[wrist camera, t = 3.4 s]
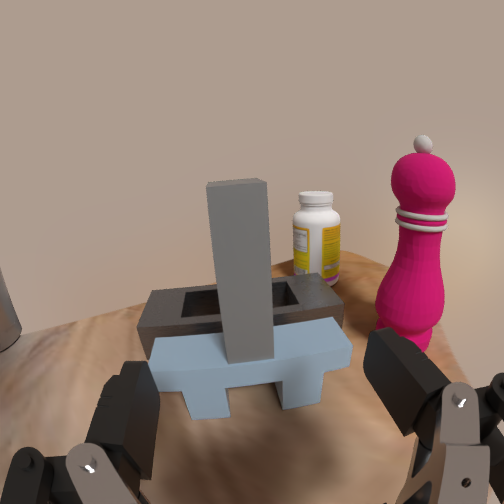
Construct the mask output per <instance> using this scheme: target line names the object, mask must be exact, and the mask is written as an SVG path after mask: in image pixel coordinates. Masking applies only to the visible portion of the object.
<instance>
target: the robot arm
mask: <svg viewBox="0 0 504 504" xmlns="http://www.w3.org/2000/svg"><path fill="white" fill-rule="evenodd" d="M21 330H22V328H21V325H20V322H19V320H18V317H17V315H16V312H15V310H14V307H13V305H12V302H11V299H10V296H9V294H8V291H7V288H6V285H5V282H4V278H3V276H2V272H1V269H0V351H2V350H4V349H6V348H7V347H9V346H10V345H11V344H13V343H14V342H15V341H16V340H17V338H18V337H19V336H20V334H21ZM363 369H364V373H365V375H366V377H367V379H368V381H369V382H370V384H371V385H372V387H373V388H374V390H375V391H376V393H377V395H378V396H379V398H380V399H381V401H382V402H383V404H384V406H385V407H386V409H387V410H388V412H389V413H390V415H391V417H392V418H393V420H394V421H395V423H396V425H397V426H398V428H399V429H400V431H401V433H402V434H403V436H404V437H405V436H407V435H409V434H411V433H413V432H415V433H416V435H417V437H416V439H415V443H414V448H413V453H412V458H411V463H410V467H409V471H408V475H407V479H406V482H405V485H404V487H403V488H402V490H401V492H400V494H399V496H398V498H397V500H396V503H395V504H486V503H487V495H488V486H489V483H490V485H491V487H492V488H493V490H494V492H495V494H496V496H497V498H498V499H499V501H500V503H501V504H504V436H503V435H502V433H501V432H500V430H499V429H498V428H497V425H498V424H499V423H500V421H501V420H503V421H504V373H499V374H497V375H495V376H494V378H493V380H492V382H491V383H490V385H489V386H486V387H482V388H477V389H473V388H472V387H471V386H470V385H468V384H466V383H462V382H454V383H451V382H450V381H449V379H448V378H447V377H446V376H445V375H444V374H443V373H442V372H441V371H440V370H439V368H438V367H437V366H436V365H435V364H434V363H433V362H432V361H431V360H430V359H428V357H427V356H426V354H425V353H424V352H422V350H421V349H420V348H419V347H418V346H417V345H416V344H415V343H414V342H413V341H411V340H409V339H407V338H405V337H403V336H402V337H400V336H399V335H398V334H397V333H396V332H395V331H394V330H393V329H392V328H391V327H386V328H382V329H378V330H374V331H371V332H370V334H369V338H368V343H367V348H366V352H365V357H364V362H363ZM100 396H101V398H99V401H98V404H97V407H96V409H95V412H94V415H93V418H92V421H91V424H90V427H89V430H88V433H87V437H86V440H85V442H84V443H82V444H79V445H77V446H75V447H73V448H72V449H71V450H70V451H69V453H68V455H66V456H55V457H44V456H43V455H42V454H41V453H40V452H39V451H38V450H37V449H35V448H32V447H24V448H21V449H20V450H18V451H17V452H16V453H15V455H14V456H13V459H12V462H11V465H10V468H9V471H8V474H7V478H6V481H5V485H4V488H3V492H2V496H1V500H0V504H151V503H150V502H149V500H148V499H147V498H146V496H145V495H144V494H143V493H142V491H141V490H140V489H139V487H140V479H144V480H151V477H152V466H153V457H154V448H155V439H156V432H157V424H158V417H159V410H160V396H159V391H158V389H157V386H156V384H155V381H154V378H153V376H152V373H151V371H150V368H149V365H148V363H147V362H146V361H125V362H124V364H123V366H122V369H121V372H120V375H113V376H112V377H111V378H110V379H109V380H108V381H107V382H106V384H105V385H104V387H103V390H102V393H101V395H100ZM48 501H49V502H48ZM384 504H387V503H384Z"/></svg>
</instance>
